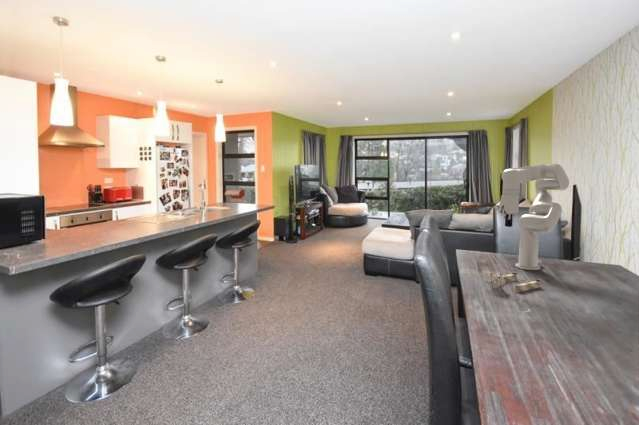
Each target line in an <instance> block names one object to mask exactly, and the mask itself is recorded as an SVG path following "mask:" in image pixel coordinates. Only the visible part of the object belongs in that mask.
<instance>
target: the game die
mask: <svg viewBox="0 0 639 425" xmlns="http://www.w3.org/2000/svg"><path fill="white" fill-rule="evenodd" d="M502 276H503V275H502V273H500V274H492V273H490V276H489V278H488V280H487V281H485V283H487V284H488V285H489V286H490V288H491V291H492V292H493V291H494V290H495V291H498V290H501V291H502V292H504V287H505V285H506V284H507V283H509V282H508V281H507V282H506V281H505V279H504V278H503V277H502Z"/></svg>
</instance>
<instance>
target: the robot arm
mask: <svg viewBox="0 0 639 425" xmlns="http://www.w3.org/2000/svg"><path fill="white" fill-rule="evenodd" d="M500 177H501V180H502V194H501V197H500V200H499V208H498V212H499V214H500V215H501V217H504V226H505V227H509V228H511V227H513V223H514V222H513V221H514V218H515V217H516V216H517V214H518V212H519V211H520V209H519V208H520V198H519V192H520V191H519V189H520V184H526V183H529V182H532V181H533V182H534V185H535V186H534V187H535V194H536V195H535V198H534V200H533V202H532V203H531V205H530V206H529V208H528V213H527V214H523V215H521V216H520V217H519V220H518V225H519V226H518V227H519V245H518V246H519V247H518V248H519V249H518V262H517V263H515V267H516V268H518V269H522V270H528V271H537V270H538V271H539V270H541V266H540V265H539V264H541V263H542V260H541V259H538V258H539V246H540V245H539V243H540V241H539V240H540V239H539V238H540V237H539V235H538V234H537V232H538V233H545V234H548V233H551V232H553V230H554V229H555V227H556V225H557V223H558V221H559V220H560V218H561V215H562V212H563V211H562V206H561V205H560V203H558V202H554V201H553V197H552V194H551V193H549V191H565V190H566V189H568V188H569V186H570V179H569V177H568V175H567V173H566V171H565V169H564V168H563V167H562V166H561V165H560V164H559V163H540V164H534V165H528V166H519V167H511V168H506V169H505V170H502V173H501V176H500Z"/></svg>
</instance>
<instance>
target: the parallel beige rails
mask: <svg viewBox="0 0 639 425" xmlns="http://www.w3.org/2000/svg"><path fill="white" fill-rule="evenodd" d="M517 275H518V273H517V272H514V271H513V272H512V273H509V274H507V275H506V274H504V275H501V276H502V277H503V278H504V279H505V281H506V283H510V282H513V281H517V277H518V276H517ZM507 281H508V282H507ZM541 281H542V279H539V278H535V280H533V281H530V282H529V281H528V282H524V283H520V284H515V287H514V288H515V292H517V293H520V292H525V291H528V290H529V291H531V290H534V289H538V288H541Z"/></svg>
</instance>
